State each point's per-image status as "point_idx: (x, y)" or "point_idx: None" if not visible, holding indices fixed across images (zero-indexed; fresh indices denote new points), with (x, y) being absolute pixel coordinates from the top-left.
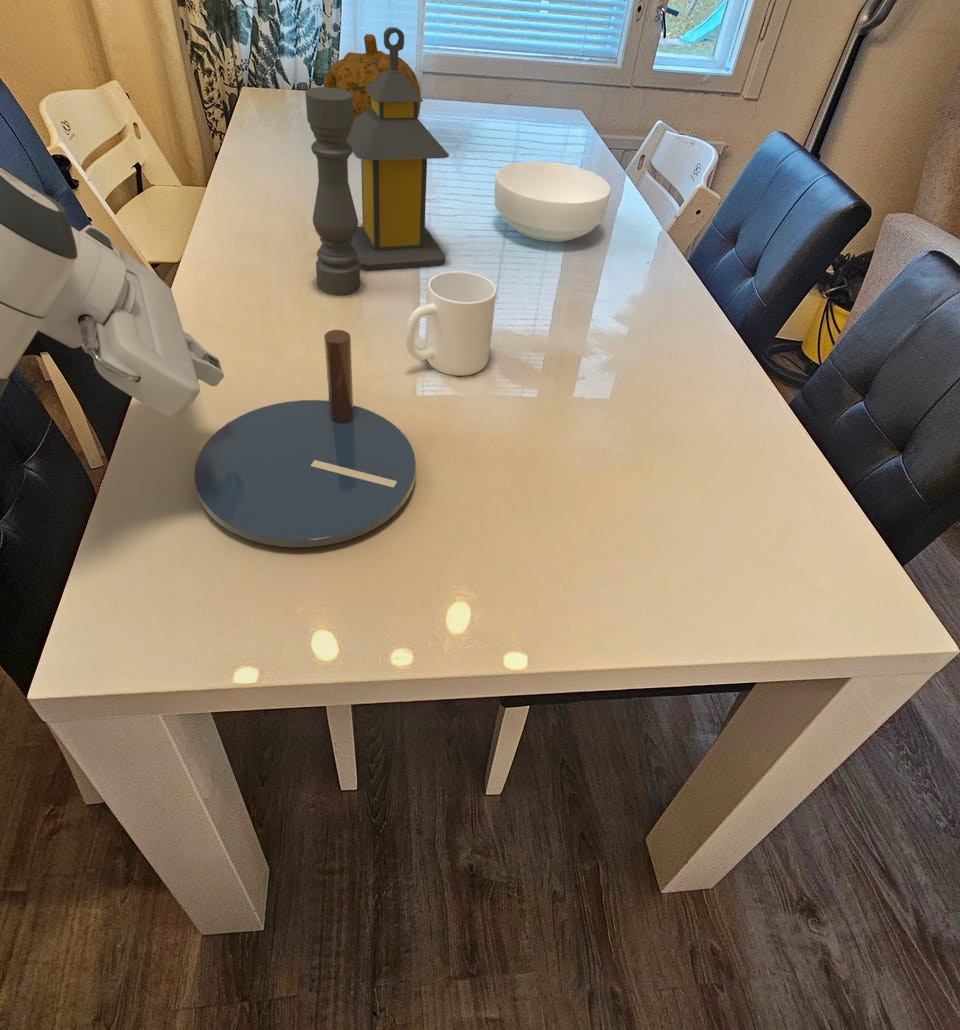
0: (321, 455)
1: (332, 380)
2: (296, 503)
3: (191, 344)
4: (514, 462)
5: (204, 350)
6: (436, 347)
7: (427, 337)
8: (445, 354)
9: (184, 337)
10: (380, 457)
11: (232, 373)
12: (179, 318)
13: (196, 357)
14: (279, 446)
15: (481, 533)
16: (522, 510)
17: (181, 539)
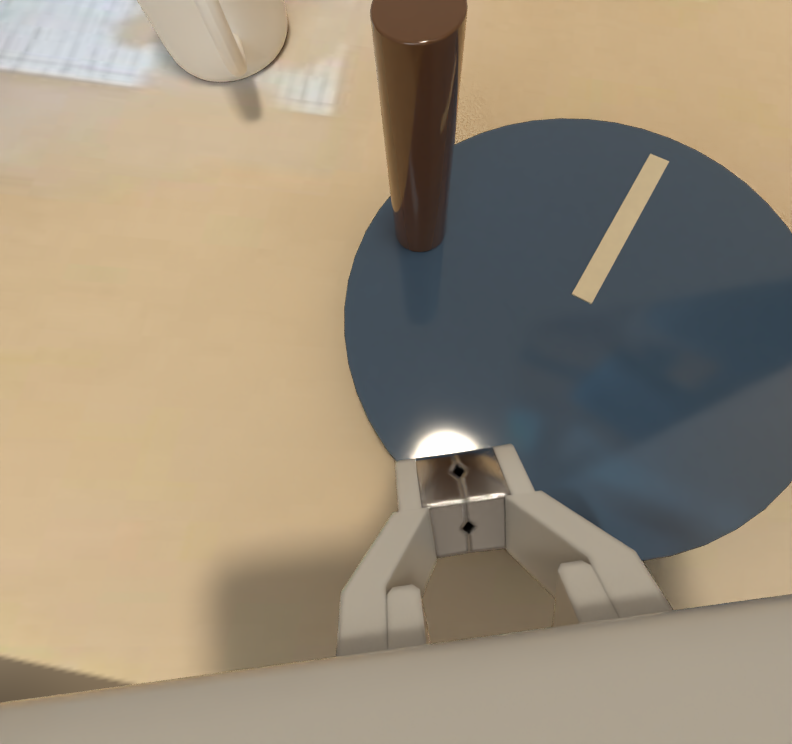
0: (553, 280)
1: (445, 162)
2: (715, 340)
3: (400, 579)
4: (550, 4)
5: (410, 514)
6: (235, 17)
7: (197, 24)
8: (258, 12)
9: (573, 642)
10: (569, 174)
11: (159, 461)
12: (282, 674)
13: (589, 555)
14: (513, 362)
15: (731, 75)
16: (674, 14)
17: (755, 593)
